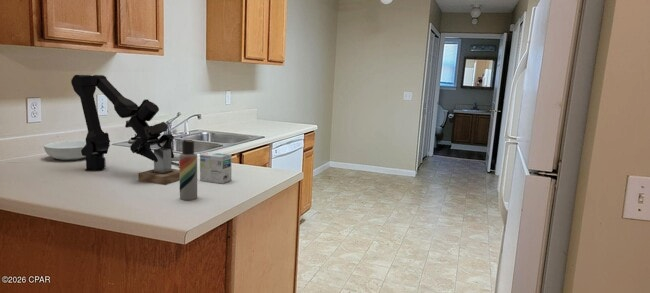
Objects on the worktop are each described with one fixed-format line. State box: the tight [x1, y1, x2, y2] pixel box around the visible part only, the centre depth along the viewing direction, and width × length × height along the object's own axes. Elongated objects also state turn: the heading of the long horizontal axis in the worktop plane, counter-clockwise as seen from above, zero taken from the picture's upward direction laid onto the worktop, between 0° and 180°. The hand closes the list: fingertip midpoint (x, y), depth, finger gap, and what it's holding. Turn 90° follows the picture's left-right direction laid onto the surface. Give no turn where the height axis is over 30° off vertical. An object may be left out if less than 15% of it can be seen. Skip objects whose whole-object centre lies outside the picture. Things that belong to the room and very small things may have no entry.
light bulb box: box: [199, 151, 232, 185], centre depth 173 cm, size 11×7×11 cm, turn 71°
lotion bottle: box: [178, 139, 198, 201], centre depth 147 cm, size 6×6×20 cm
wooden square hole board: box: [137, 168, 180, 186], centre depth 172 cm, size 12×12×3 cm
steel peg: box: [153, 147, 172, 174], centre depth 171 cm, size 4×4×12 cm
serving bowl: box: [43, 140, 86, 161], centre depth 203 cm, size 21×21×7 cm
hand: (165, 159), depth 171 cm, fingers open, 9 cm apart
